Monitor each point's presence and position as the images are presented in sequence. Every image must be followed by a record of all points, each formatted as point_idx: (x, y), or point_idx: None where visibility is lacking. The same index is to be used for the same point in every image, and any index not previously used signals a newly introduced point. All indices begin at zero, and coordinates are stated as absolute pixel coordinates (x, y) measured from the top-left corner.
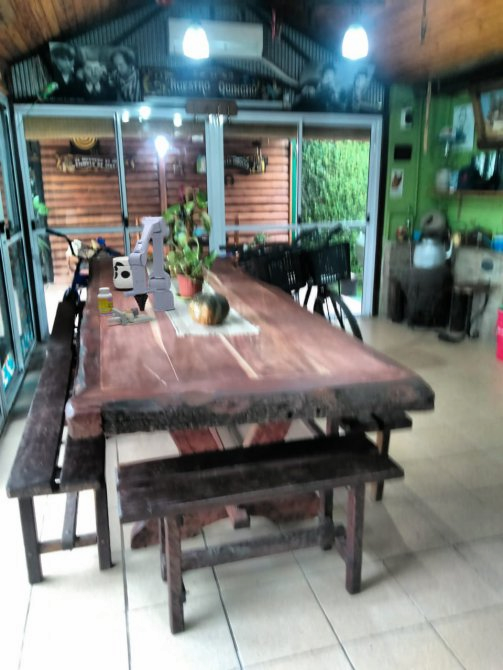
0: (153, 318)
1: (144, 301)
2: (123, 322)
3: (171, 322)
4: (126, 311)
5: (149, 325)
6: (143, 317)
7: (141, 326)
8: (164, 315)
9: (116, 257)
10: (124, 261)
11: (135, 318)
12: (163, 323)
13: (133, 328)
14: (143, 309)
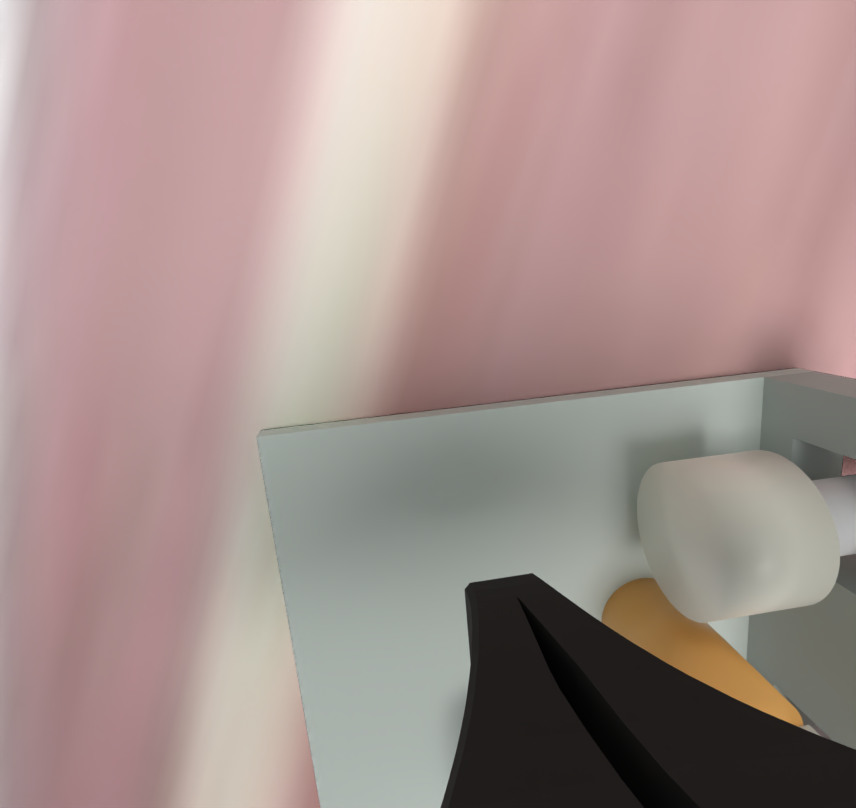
0: (275, 540)
1: (542, 756)
2: (852, 381)
3: (9, 168)
4: (791, 704)
5: (448, 205)
6: (403, 675)
7: (580, 223)
8: (35, 711)
9: None
10: None
11: None
12: (180, 190)
13: (726, 174)
14: (500, 593)
